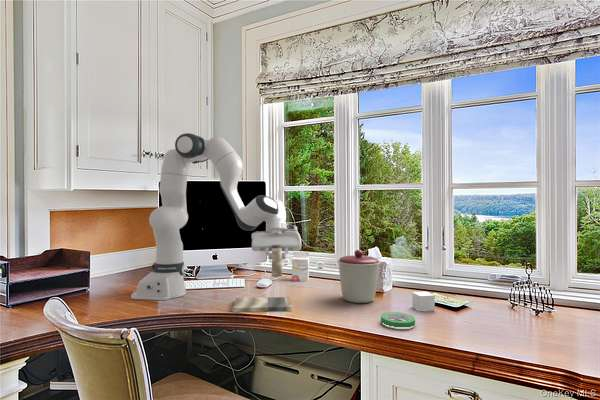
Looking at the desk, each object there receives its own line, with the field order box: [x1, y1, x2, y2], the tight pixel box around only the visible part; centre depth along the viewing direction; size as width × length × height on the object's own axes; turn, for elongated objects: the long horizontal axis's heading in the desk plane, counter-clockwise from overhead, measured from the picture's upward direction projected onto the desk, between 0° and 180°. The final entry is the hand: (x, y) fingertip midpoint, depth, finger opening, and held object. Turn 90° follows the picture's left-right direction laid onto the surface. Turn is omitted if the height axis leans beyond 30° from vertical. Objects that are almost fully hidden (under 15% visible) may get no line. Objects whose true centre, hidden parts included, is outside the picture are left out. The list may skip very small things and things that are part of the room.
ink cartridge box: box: [291, 251, 310, 282], centre depth 189 cm, size 9×5×15 cm, turn 84°
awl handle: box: [271, 245, 283, 278], centre depth 143 cm, size 4×4×12 cm
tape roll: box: [380, 311, 416, 327], centre depth 123 cm, size 11×11×3 cm
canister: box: [336, 249, 381, 304], centre depth 152 cm, size 18×18×21 cm
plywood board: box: [232, 296, 293, 313], centre depth 143 cm, size 22×14×2 cm, turn 95°
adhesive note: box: [411, 291, 436, 312], centre depth 140 cm, size 6×6×6 cm
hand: (276, 258), depth 143 cm, fingers closed on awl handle, 4 cm apart
